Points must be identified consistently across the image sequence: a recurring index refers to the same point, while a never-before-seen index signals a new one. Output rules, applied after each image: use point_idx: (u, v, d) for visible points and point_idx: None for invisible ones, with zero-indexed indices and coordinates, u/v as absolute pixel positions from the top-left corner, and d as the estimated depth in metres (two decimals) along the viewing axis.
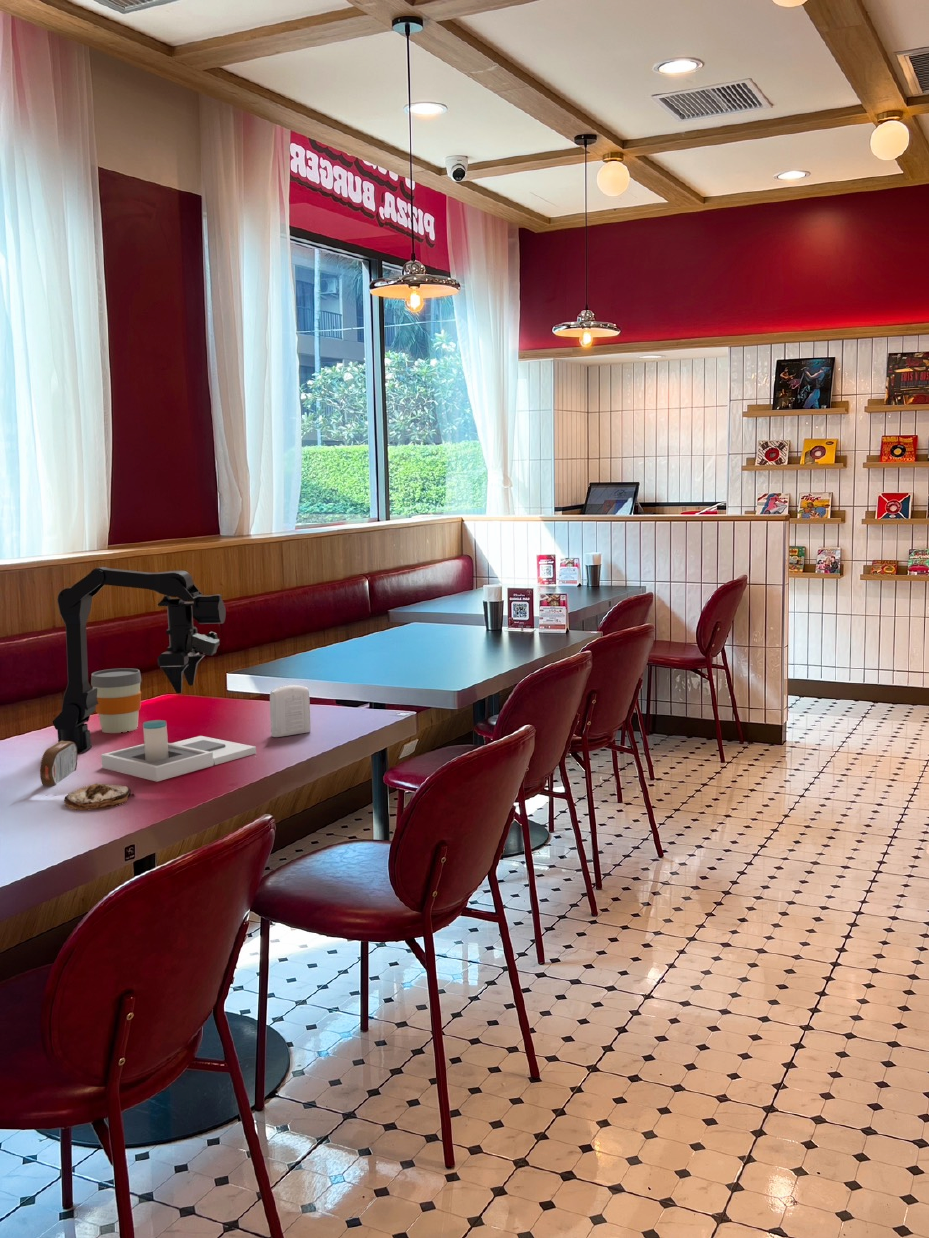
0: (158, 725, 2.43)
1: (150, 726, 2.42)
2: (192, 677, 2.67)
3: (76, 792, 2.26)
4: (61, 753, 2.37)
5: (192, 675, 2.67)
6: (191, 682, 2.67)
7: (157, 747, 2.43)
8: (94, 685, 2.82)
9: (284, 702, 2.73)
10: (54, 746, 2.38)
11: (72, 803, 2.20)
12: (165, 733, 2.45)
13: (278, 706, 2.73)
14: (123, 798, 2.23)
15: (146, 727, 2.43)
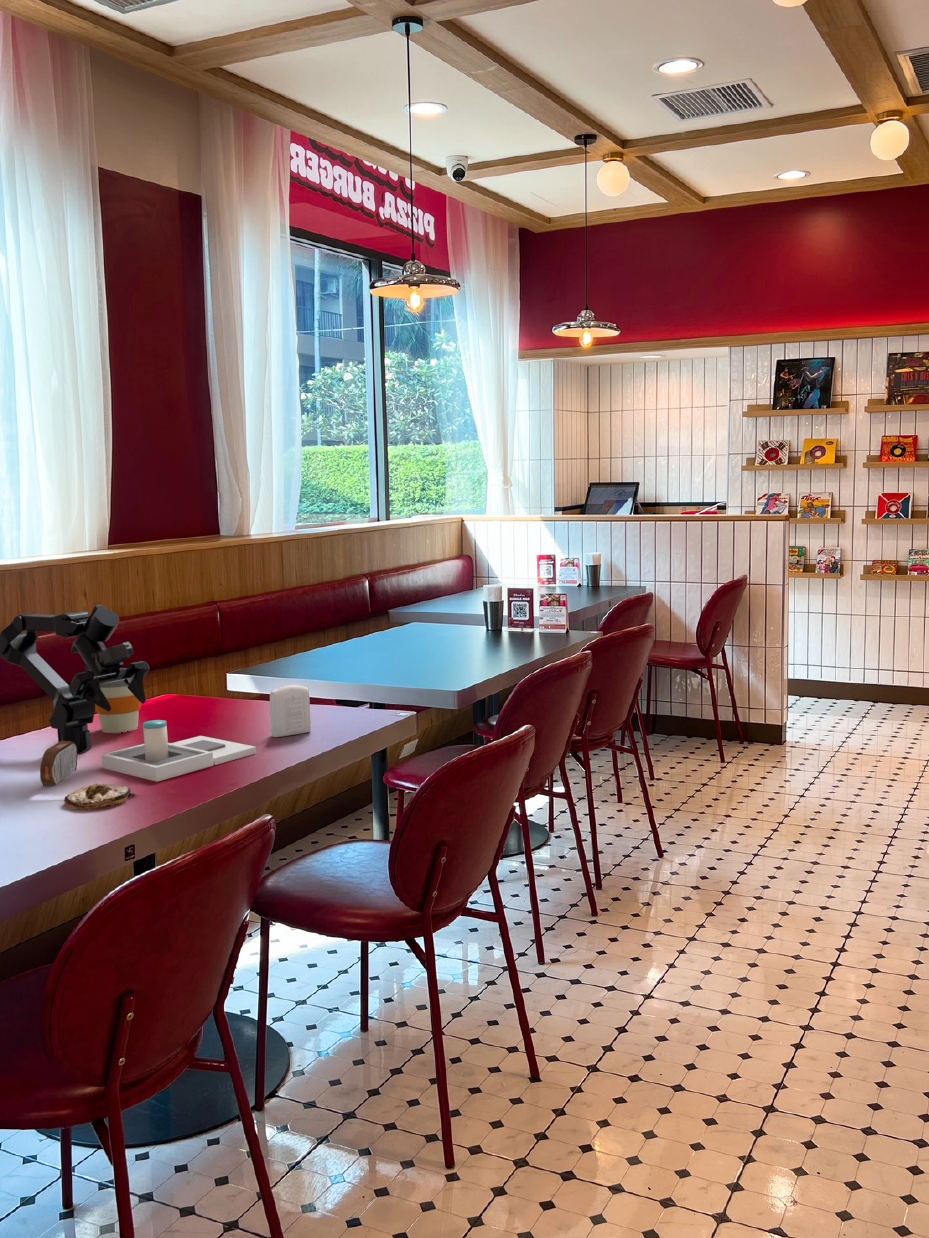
0: (158, 725, 2.43)
1: (150, 726, 2.42)
2: (140, 694, 2.56)
3: (76, 792, 2.26)
4: (61, 753, 2.37)
5: (139, 693, 2.56)
6: (142, 699, 2.56)
7: (157, 747, 2.43)
8: None
9: (284, 702, 2.73)
10: (54, 746, 2.38)
11: (72, 803, 2.20)
12: (165, 733, 2.45)
13: (278, 706, 2.73)
14: (123, 798, 2.23)
15: (146, 727, 2.43)
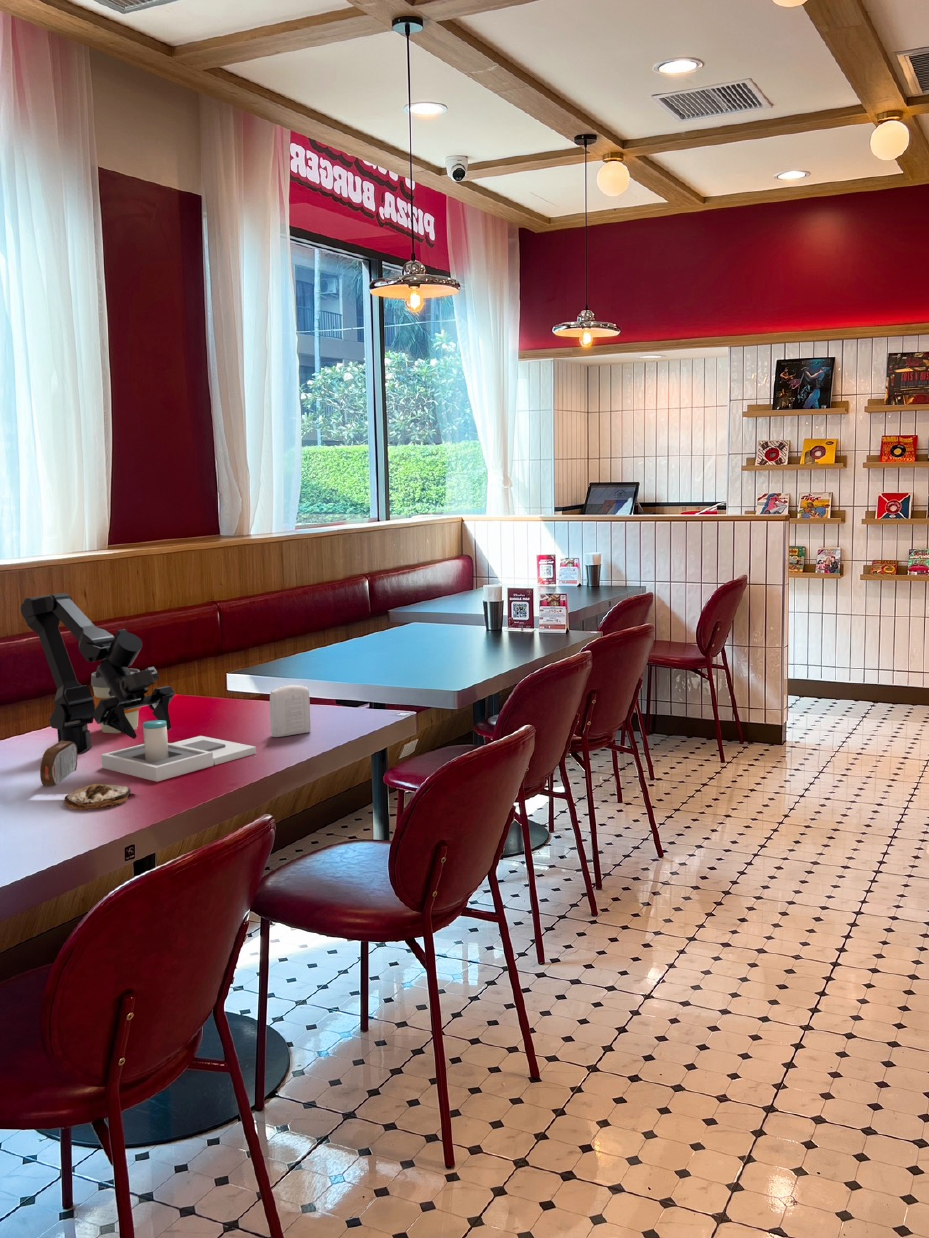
0: (158, 725, 2.43)
1: (150, 726, 2.42)
2: (166, 721, 2.50)
3: (76, 792, 2.26)
4: (61, 753, 2.37)
5: (165, 719, 2.50)
6: (167, 726, 2.49)
7: (157, 747, 2.43)
8: (94, 685, 2.82)
9: (284, 702, 2.73)
10: (54, 746, 2.38)
11: (72, 803, 2.20)
12: (165, 733, 2.45)
13: (278, 706, 2.73)
14: (123, 798, 2.23)
15: (146, 727, 2.43)
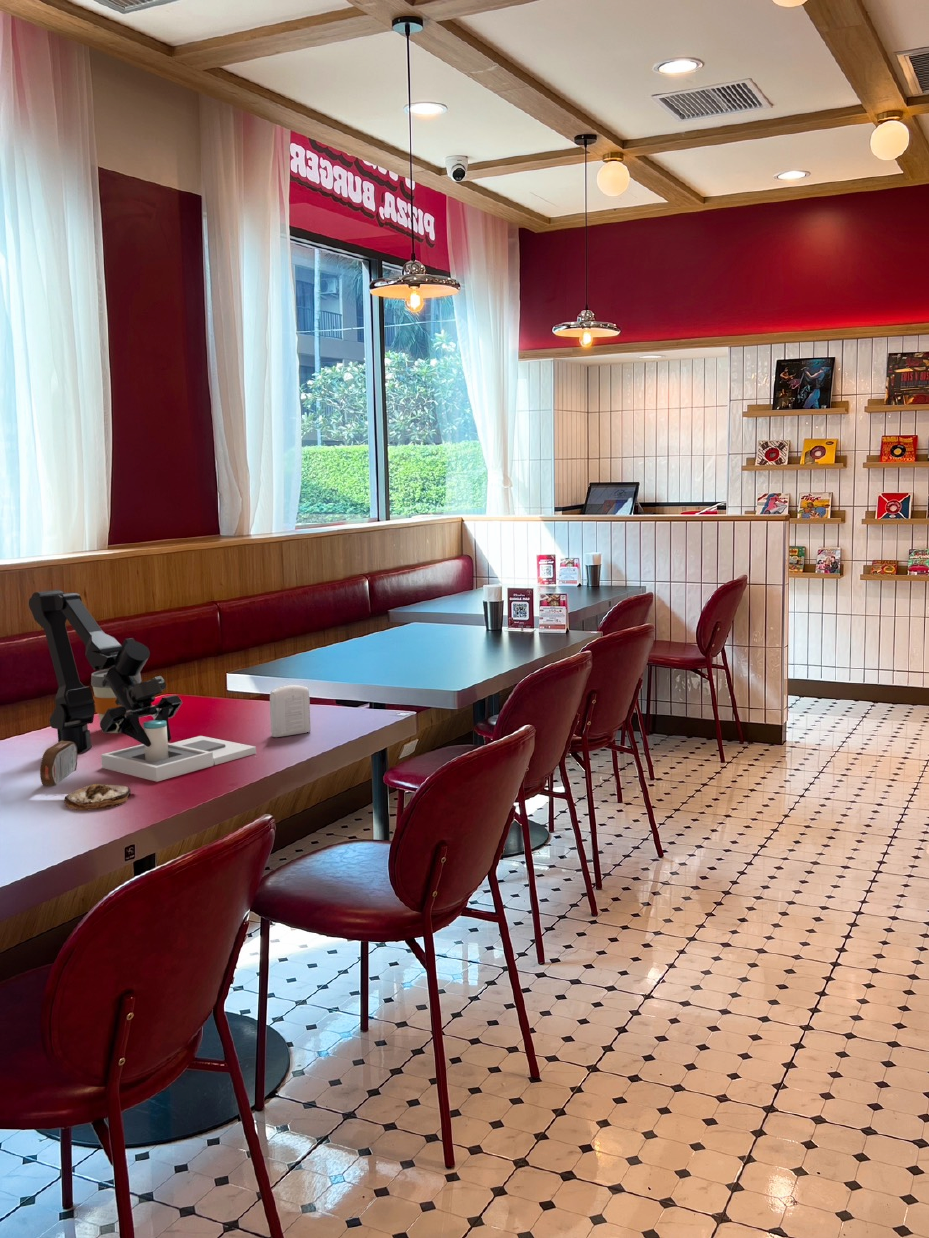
0: (158, 725, 2.43)
1: (150, 726, 2.42)
2: None
3: (76, 792, 2.26)
4: (61, 753, 2.37)
5: None
6: (167, 737, 2.47)
7: (157, 747, 2.43)
8: (94, 685, 2.82)
9: (284, 702, 2.73)
10: (54, 746, 2.38)
11: (72, 803, 2.20)
12: (165, 733, 2.45)
13: (278, 706, 2.73)
14: (123, 798, 2.23)
15: (146, 727, 2.43)
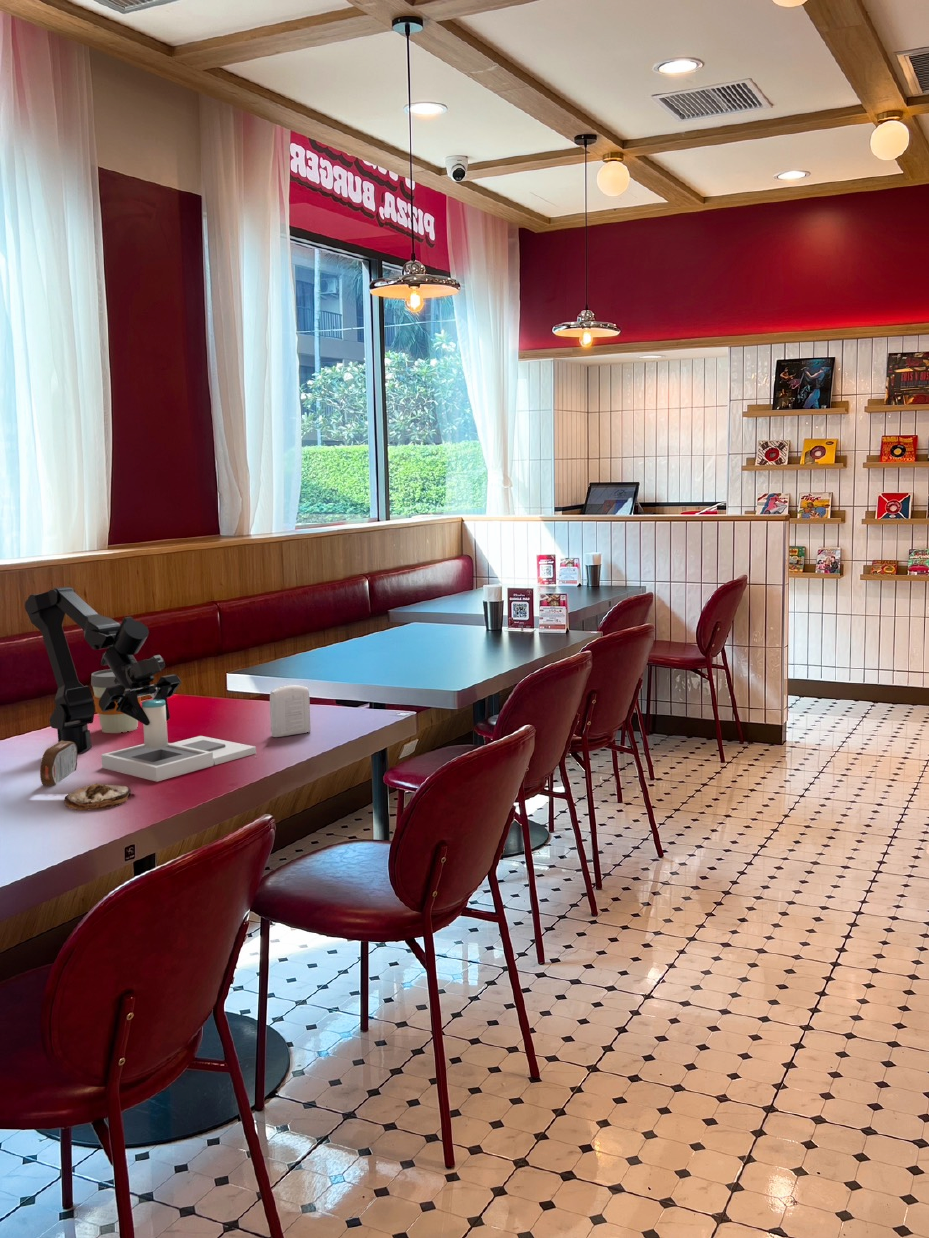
0: (157, 704, 2.42)
1: (149, 705, 2.42)
2: None
3: (76, 792, 2.26)
4: (61, 753, 2.37)
5: None
6: (166, 716, 2.46)
7: (156, 726, 2.43)
8: (94, 685, 2.82)
9: (284, 702, 2.73)
10: (54, 746, 2.38)
11: (72, 803, 2.20)
12: (164, 712, 2.44)
13: (278, 706, 2.73)
14: (123, 798, 2.23)
15: (145, 706, 2.42)
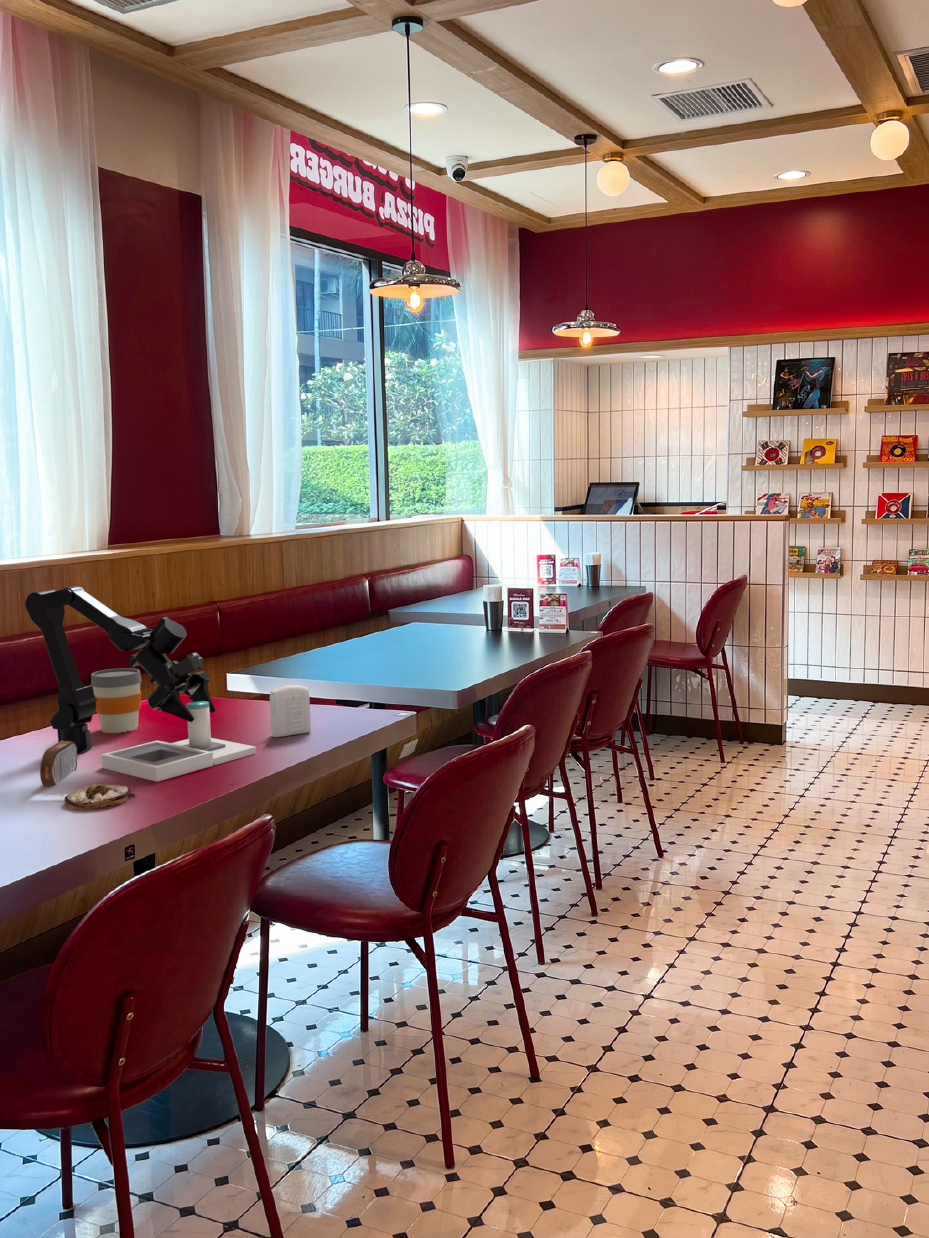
0: (205, 705, 2.52)
1: (197, 706, 2.51)
2: (209, 704, 2.58)
3: (76, 792, 2.26)
4: (61, 753, 2.37)
5: None
6: (212, 709, 2.58)
7: (204, 726, 2.53)
8: (94, 685, 2.82)
9: (284, 702, 2.73)
10: (54, 746, 2.38)
11: (72, 803, 2.20)
12: (209, 713, 2.54)
13: (278, 706, 2.73)
14: (123, 798, 2.23)
15: (193, 708, 2.52)
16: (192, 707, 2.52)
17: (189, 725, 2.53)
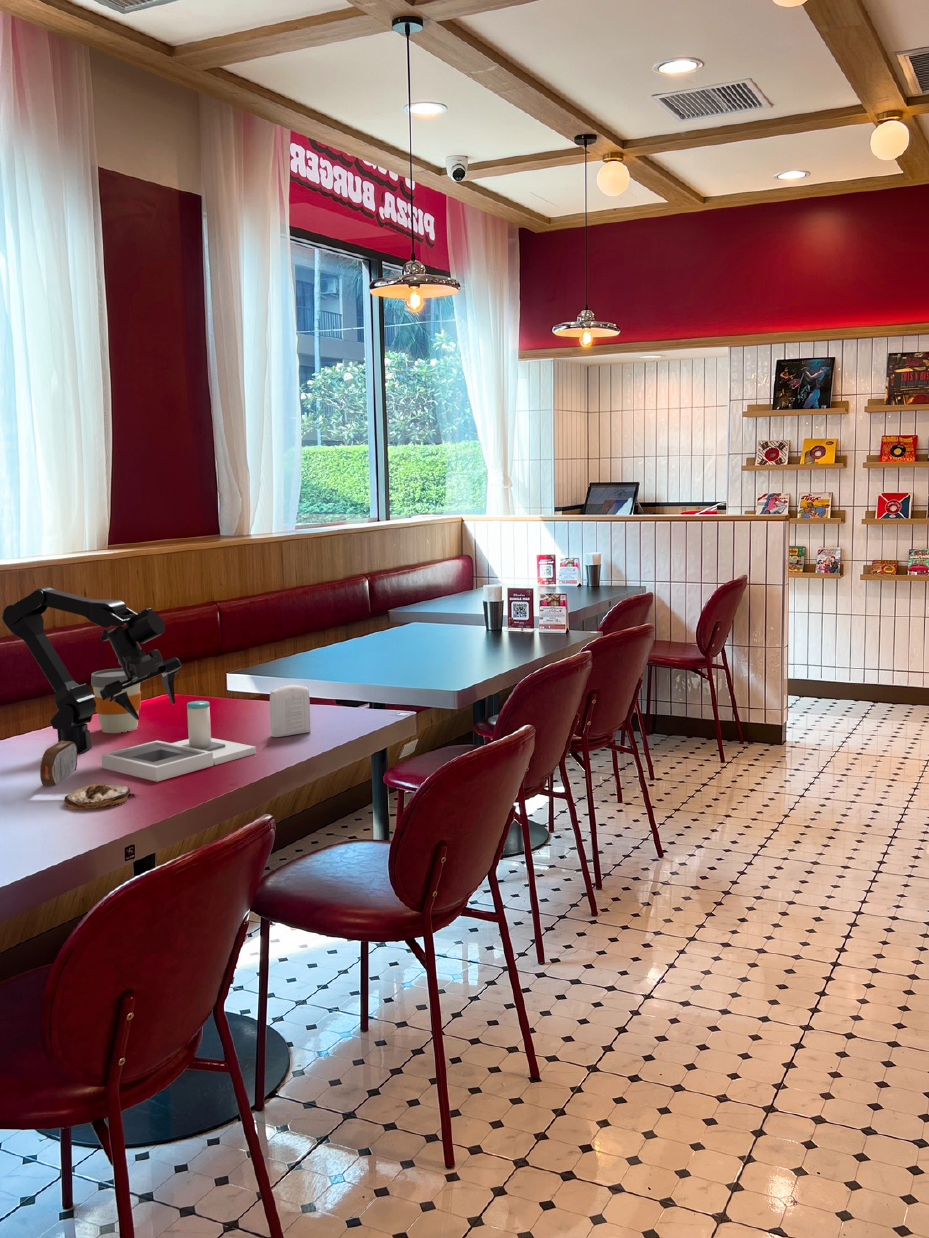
0: (205, 705, 2.52)
1: (198, 706, 2.51)
2: (170, 696, 2.60)
3: (76, 792, 2.26)
4: (61, 753, 2.37)
5: (170, 694, 2.60)
6: (172, 701, 2.60)
7: (204, 726, 2.53)
8: (94, 685, 2.82)
9: (284, 702, 2.73)
10: (54, 746, 2.38)
11: (72, 803, 2.20)
12: (209, 713, 2.54)
13: (278, 706, 2.73)
14: (123, 798, 2.23)
15: (193, 707, 2.51)
16: (193, 707, 2.51)
17: (189, 725, 2.53)
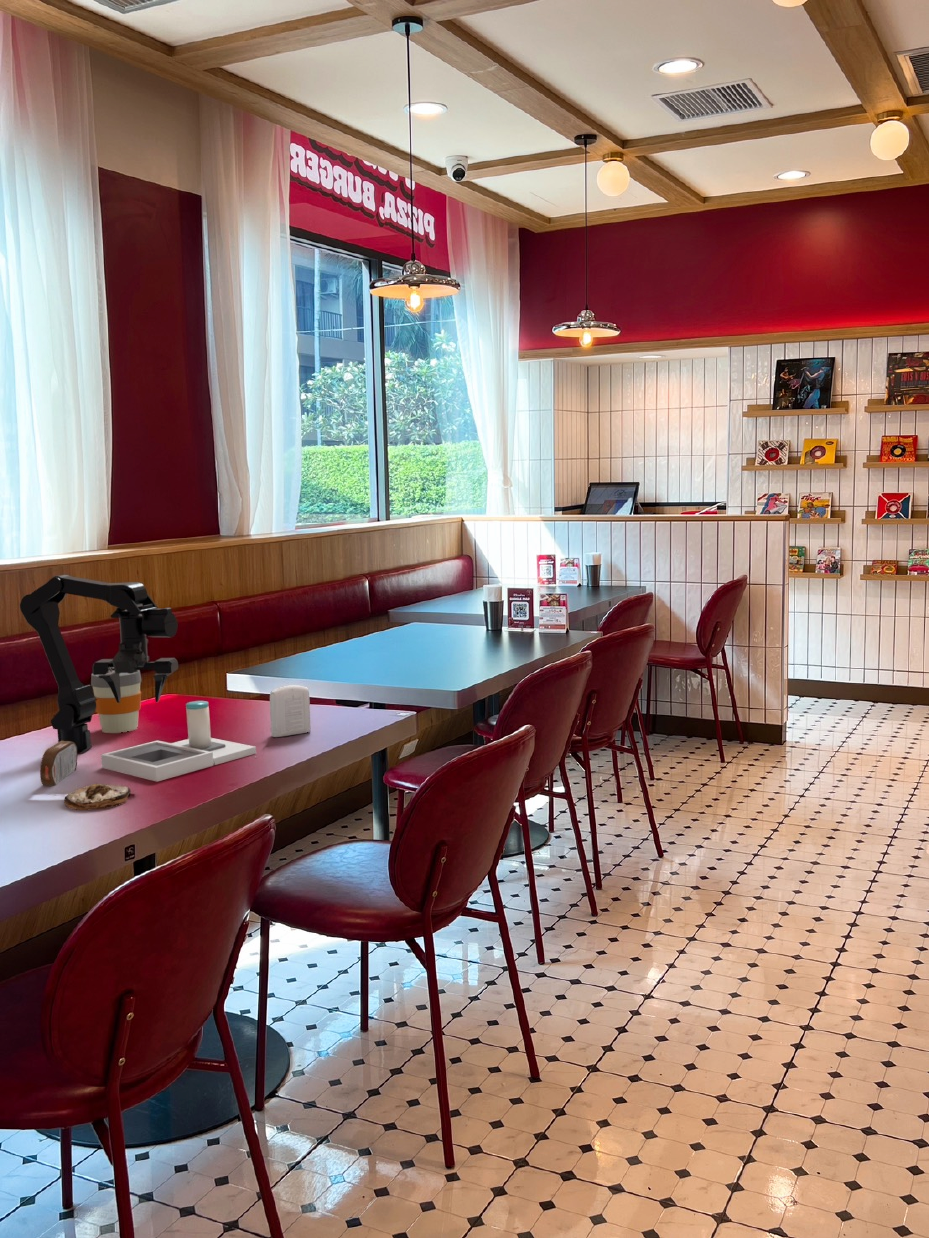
0: (204, 705, 2.52)
1: (197, 706, 2.51)
2: None
3: (76, 792, 2.26)
4: (61, 753, 2.37)
5: None
6: None
7: (204, 726, 2.53)
8: (94, 685, 2.82)
9: (284, 702, 2.73)
10: (54, 746, 2.38)
11: (72, 803, 2.20)
12: (208, 712, 2.54)
13: (278, 706, 2.73)
14: (123, 798, 2.23)
15: (193, 708, 2.51)
16: (192, 707, 2.51)
17: (189, 725, 2.53)
